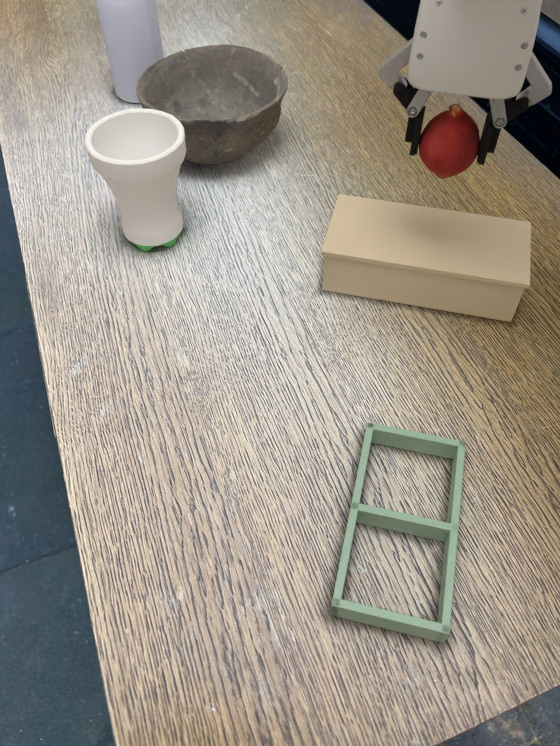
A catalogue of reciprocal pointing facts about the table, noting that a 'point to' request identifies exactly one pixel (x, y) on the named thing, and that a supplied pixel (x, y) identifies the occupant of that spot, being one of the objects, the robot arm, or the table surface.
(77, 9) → the table surface
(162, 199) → the cup
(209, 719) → the table surface
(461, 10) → the robot arm
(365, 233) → the beige rectangular box
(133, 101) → the soap bottle
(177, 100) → the bowl
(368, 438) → the green rectangular frame
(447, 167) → the red pomegranate
